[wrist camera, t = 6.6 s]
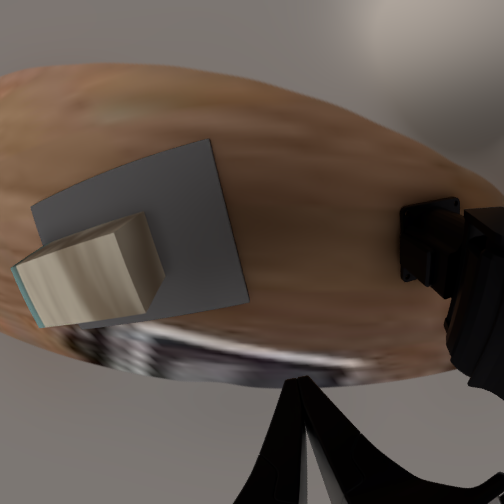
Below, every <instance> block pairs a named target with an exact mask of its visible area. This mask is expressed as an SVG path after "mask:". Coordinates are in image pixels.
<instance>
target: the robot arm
mask: <svg viewBox="0 0 504 504" xmlns="http://www.w3.org/2000/svg"><path fill="white" fill-rule="evenodd" d="M454 202H455V204H454ZM406 211H408V214H407V215H405V212H406ZM400 221H401V235H400V264H401V279H402V280H403V281H404V282H409V281H412V280H415V279H418V280H419V281H420V282H421V283H423V284H424V285H425V286H426V287H429V286H430V287H431V288H432V289H434V290H435V291H436V292H437V293H438V294H439V295H440V296H441V297H442V298H444V299H448V298H450V297H451V298H452V299H451V303H450V307H449V311H448V315H447V318H445V321H444V328H445V330H446V333H447V335H446V346H447V348H448V350H449V353H450V355H451V359H450V361H451V363H452V364H453V365H454V366H455V367H456V368H457V369H458V370H459V371H461V372H462V373H463V374H465V375H466V376H469V377H470V379H469V381H468V386H470V387H477V388H482V389H485V390H487V391H490V392H492V393H494V394H495V395H497V396H498V397H500V398H501V399H503V400H504V207H488V208H474V209H464V216H462V215H460V201H459V199H458V198H456V197H450V198H444V199H439V200H434V201H429V202H423V203H418V204H413V205H408V206H404V207H402V209H401V211H400ZM407 274H408V276H407V277H406V275H407ZM305 426H306V428H305ZM306 431H307V434H308V437H309V440H310V443H311V446H312V449H313V451H314V454H315V457H316V460H317V463H318V466H319V469H320V472H321V475H322V478H323V481H324V483H325V486H326V489H327V492H328V495H329V498H330V501H331V504H504V493H503V492H504V473H503V472H498V473H497V474H495V475H494V476H492V477H491V478H490V479H488V480H487V481H486V482H484V483H483V484H481V485H479V486H476V487H474V488H460V487H455V486H449V485H444V484H439V483H435V482H430V481H426V480H423V479H420V478H418V477H416V476H414V475H413V474H411V473H409V472H408V471H407V470H405V469H404V468H402V467H401V466H399V465H398V464H397V463H395V462H394V461H392V460H391V459H390V458H388V457H387V456H386V455H384V454H383V453H382V452H381V451H379V450H378V449H377V448H376V447H375V446H374V445H373V444H372V443H371V442H370V441H368V440H367V438H366V437H365V436H364V435H363V434H360V431H359V430H358V429H357V428H356V427H355V426H354V425H353V424H352V423H351V422H350V421H349V420H348V419H347V418H346V416H345V415H344V414H343V413H342V412H341V411H340V410H339V409H338V408H337V407H336V406H335V405H334V404H333V402H332V401H331V400H330V399H329V398H328V397H327V396H326V395H325V394H324V393H323V391H322V390H321V389H320V388H319V387H318V386H317V385H316V384H315V382H314V381H313V380H312V379H311V378H310V377H309V376H307V375H306V376H301V377H298V378H297V379H296V378H292V379H287V380H285V382H284V385H283V388H282V391H281V394H280V397H279V400H278V403H277V406H276V409H275V412H274V415H273V418H272V420H271V423H270V427H269V429H268V432H267V435H266V437H265V440H264V443H263V445H262V448H261V451H260V453H259V454H260V455H258V458H257V460H256V463H255V465H254V468H253V470H252V472H251V474H250V476H249V478H248V480H247V482H246V483H245V485H244V487H243V489H242V490H241V492H240V493H239V495H238V496H237V498H236V500H235V501H234V503H233V504H307V446H306V445H307V444H306ZM501 493H503V494H502V495H501V496H499V495H500V494H501Z"/></svg>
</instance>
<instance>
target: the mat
mask: <svg viewBox="0 0 504 504" xmlns="http://www.w3.org/2000/svg"><path fill="white" fill-rule="evenodd" d="M31 211H32V214H33V217H34V220H35V224H36V227H37V230H38V233H39V236H40V238H41V241H42V244H43V246H44V245H46V244H48V243H50V242H53V241H56V240H58V239H61V238H64V237H67V236H69V235H72V234H75V233H78V232H81V231H84V230H86V229H89V228H92V227H95V226H98V225H101V224H104V223H107V222H110V221H113V220H117V219H120V218H123V217H126V216H129V215H133V214H136V213H139V212H143V211H144V213H145V216H146V219H147V223H148V226H149V229H150V232H151V235H152V238H153V241H154V244H155V247H156V250H157V253H158V256H159V259H160V262H161V265H162V267H163V270H164V273H165V278H164V280H163V282H162V284H161V286H160V287H159V289H158V291H157V293H156V295H155V297H154V299H153V301H152V303H151V304H150V306H149V308H148V310H147V312H146V313H145V314H139V315H132V316H126V317H119V318H113V319H106V320H99V321H91V322H84V323H78V324H79V326H80V328H81V329H89V328H98V327H106V326H113V325H121V324H128V323H135V322H142V321H148V320H155V319H161V318H167V317H173V316H179V315H185V314H191V313H197V312H202V311H208V310H213V309H219V308H224V307H229V306H234V305H239V304H244V303H249V302H250V299H249V295H248V291H247V287H246V283H245V279H244V276H243V272H242V268H241V264H240V260H239V256H238V252H237V248H236V244H235V240H234V236H233V232H232V229H231V225H230V221H229V217H228V213H227V209H226V205H225V201H224V196H223V192H222V188H221V184H220V180H219V176H218V172H217V168H216V164H215V160H214V156H213V151H212V147H211V143H210V139H205V140H201V141H197V142H194V143H190V144H187V145H183V146H180V147H176V148H173V149H170V150H167V151H163V152H160V153H157V154H154V155H151V156H148V157H145V158H142V159H139V160H136V161H134V162H131V163H128V164H125V165H123V166H120V167H117V168H115V169H112V170H110V171H107V172H105V173H102V174H100V175H97V176H95V177H92V178H90V179H88V180H85V181H83V182H81V183H78V184H76V185H74V186H72V187H70V188H67V189H65V190H63V191H61V192H59V193H57V194H55V195H53V196H51V197H49V198H47V199H45V200H43V201H41V202H39V203H37V204H35V205H33V206H31Z"/></svg>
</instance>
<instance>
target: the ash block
mask: <svg viewBox="0 0 504 504" xmlns="http://www.w3.org/2000/svg"><path fill="white" fill-rule="evenodd" d="M11 271H12V273H13V275H14V278H15V280H16V282H17V285H18V287H19V289H20V291H21V293H22V295H23V298H24V300H25V302H26V304H27V306H28V308H29V310H30V312H31V313H32V315H33V317H34V319H35V321H36V323H37V325H38V326H39V328H43V327H52V326H60V325H69V324H76V323H84V322H91V321H99V320H106V319H113V318H119V317H126V316H132V315H139V314H145V313H146V312H147V310H148V308H149V306H150V304H151V303H152V301H153V299H154V297H155V295H156V293H157V291H158V289H159V287H160V286H161V284H162V282H163V280H164V278H165V273H164V270H163V267H162V265H161V262H160V259H159V256H158V253H157V250H156V247H155V244H154V241H153V238H152V235H151V232H150V229H149V226H148V223H147V219H146V216H145V213H144V211H143V212H139V213H136V214H133V215H129V216H126V217H123V218H120V219H117V220H113V221H110V222H107V223H104V224H101V225H98V226H95V227H92V228H89V229H86V230H84V231H81V232H78V233H75V234H72V235H69V236H67V237H64V238H61V239H58V240H56V241H53V242H50V243H48V244H46V245H44V246H43V247H41V248H39V249H38V250H36V251H35V252H33V253H32V254H30V255H29V256H27V257H26V258H24V259H23V260H21V261H20V262H18V263H17V264H15V265H14V266H13V267H11Z"/></svg>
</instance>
